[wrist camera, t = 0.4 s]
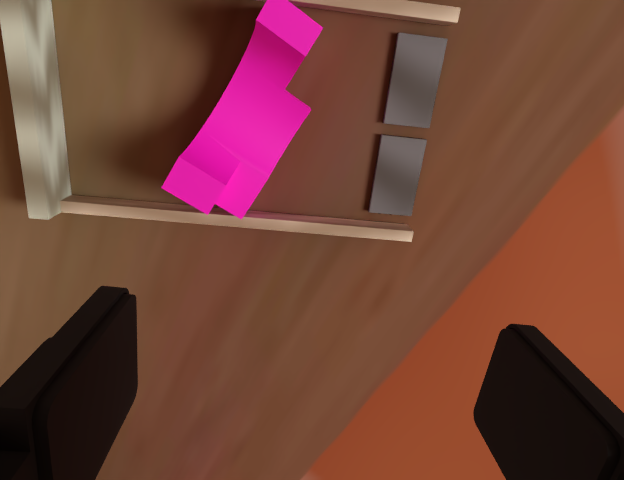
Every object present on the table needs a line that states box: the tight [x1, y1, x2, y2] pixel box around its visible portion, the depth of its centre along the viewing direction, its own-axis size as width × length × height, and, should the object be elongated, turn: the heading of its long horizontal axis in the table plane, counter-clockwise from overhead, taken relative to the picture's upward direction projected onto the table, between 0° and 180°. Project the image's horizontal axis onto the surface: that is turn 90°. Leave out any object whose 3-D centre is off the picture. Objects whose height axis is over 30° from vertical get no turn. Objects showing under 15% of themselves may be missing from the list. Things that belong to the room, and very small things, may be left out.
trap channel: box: [0, 0, 460, 242], centre depth 33 cm, size 19×32×4 cm, turn 84°
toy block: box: [162, 0, 323, 220], centre depth 32 cm, size 15×6×8 cm, turn 146°
